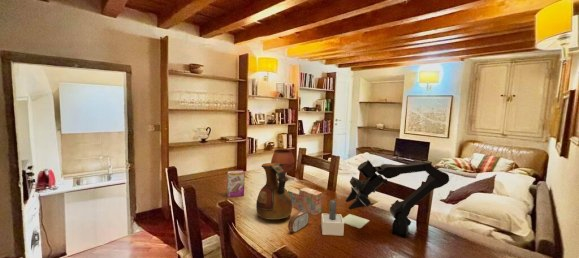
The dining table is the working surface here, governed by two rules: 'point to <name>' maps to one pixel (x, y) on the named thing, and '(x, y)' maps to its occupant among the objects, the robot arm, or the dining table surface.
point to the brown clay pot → (284, 159)
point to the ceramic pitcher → (274, 194)
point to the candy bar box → (235, 183)
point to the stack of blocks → (306, 200)
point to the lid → (332, 213)
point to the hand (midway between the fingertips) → (347, 205)
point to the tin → (298, 221)
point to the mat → (355, 221)
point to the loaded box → (332, 227)
